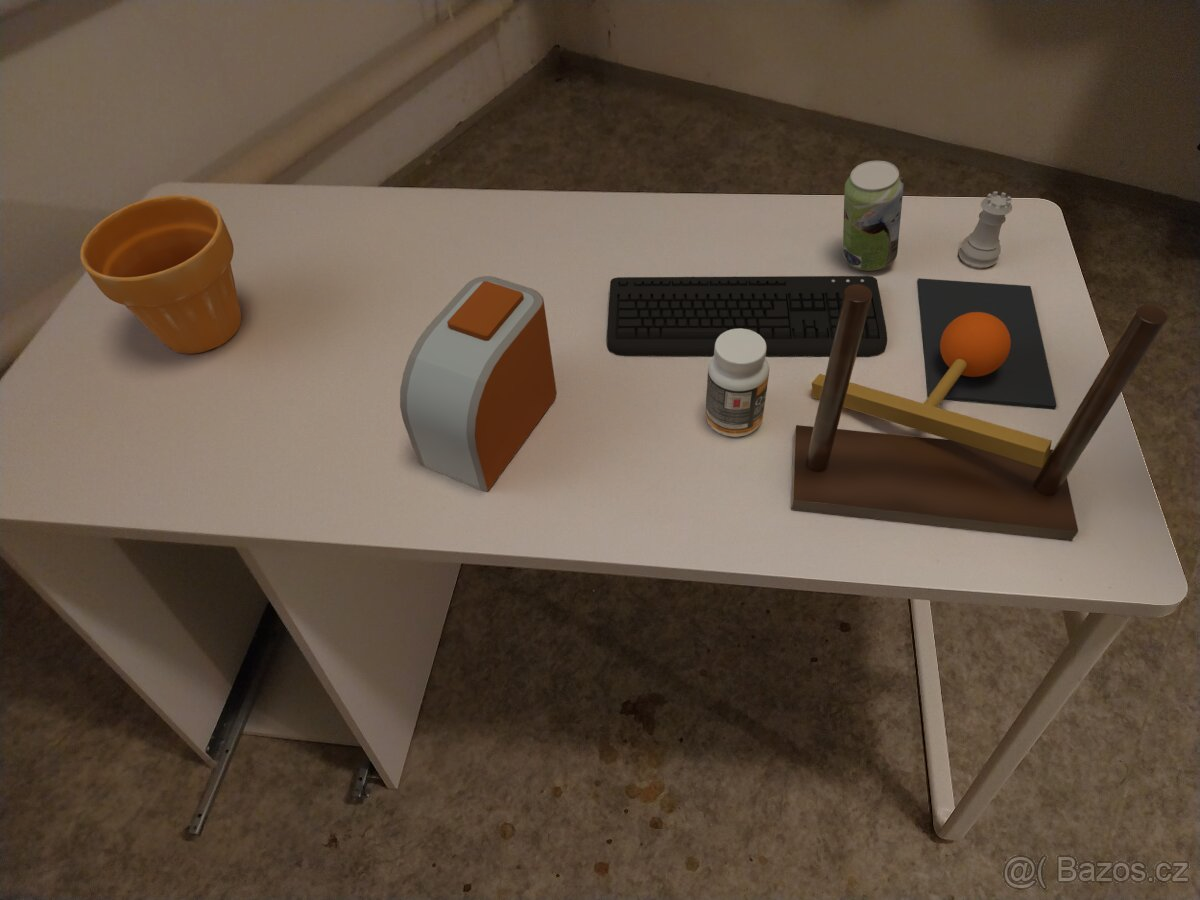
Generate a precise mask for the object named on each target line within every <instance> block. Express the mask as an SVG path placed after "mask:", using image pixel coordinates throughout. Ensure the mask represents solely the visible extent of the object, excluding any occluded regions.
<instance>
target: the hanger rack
mask: <svg viewBox="0 0 1200 900" xmlns="http://www.w3.org/2000/svg"><path fill="white" fill-rule="evenodd" d="M871 298H872V292H871V290H870V289H869V288H867V287H866V286H863V285H858V284H856V285H850V286H848V287H847V288H846V289H845V291H844V295H843V300H842V304H841V309H840V313H839V317H838V322H837V326H836V331H835V335H834V339H833V344H832V348H831V353H830V357H828V362H827V366H826V370H825V374H824V375H825V379H824V383H823V388H822V392H821V397H820V400H819V402H818V406H817V410H816V414H815V419H814V423H813V426H811V425H801V424H800V425H799V424H796V425H795V428H794V433H793V449H792V451H793V453H792V475H791V476H792V477H791V479H792V480H791V502H790V503H791V504H790V505H791V506H790V509H791V511H799V512H806V513H807V512H808V513H817V514H827V515H835V516H844V517H854V518H862V519H871V520H880V521H890V522H899V523H907V524H908V523H909V524H916V525H928V526H936V527H943V528H953V529H963V530H970V531H971V530H972V531H980V532H981V531H982V532H989V533H990V532H991V533H998V534H1008V535H1016V536H1024V537H1025V536H1027V537H1035V538H1043V539H1044V538H1045V539H1054V540H1060V541H1061V540H1063V541H1070V542H1071V541H1073V540H1074V538H1075V537H1076V536H1077V534H1078V533H1079V528H1078V523H1077V518H1076V514H1075V513H1076V512H1075V509H1074V504H1073V499H1072V494H1071V489H1070V486H1069V482H1068V481H1069V480H1068V476H1069V474H1070V473H1071V471H1072V470H1073V468H1074V467H1075V465H1076V464H1077V462H1078V461H1079V459H1080V457H1081V456H1082V454H1083V453H1084V451H1085V449H1086V448H1087V446H1088V445H1089V443H1090V442H1091V440H1092V439H1093V437H1094V435H1095V434H1096V432H1097V431H1098V429H1099V428H1100V426H1101V424H1102V423H1103V421H1104V420H1105V418H1106V417H1107V415H1108V414H1109V412H1110V410H1111V409H1112V408H1113V406H1114V404H1115V403H1116V401H1117V400H1118V398H1119V397H1120V395H1121V393H1122V392H1123V391H1124V389H1125V387H1126V385H1127V384H1128V382H1129V381H1130V380H1131V378H1132V376H1133V375H1134V373H1135V371H1136V370H1137V369H1138V367H1139V365H1140V364H1141V362H1142V360H1143V359H1144V357H1145V356H1146V354H1147V353H1148V352H1149V350H1150V348H1151V346H1153V344H1154V342H1155V340H1156V338H1157V337H1158V335H1159V334H1160V332H1161V331H1162V330H1163V328H1164V326H1165V324H1166V323H1167V322H1168V319H1169V317H1168V314H1167V312H1166V311H1165V310H1164V309H1162V308H1160V307H1159V306H1156V305H1153V304H1143V305H1140V306H1138V307H1137V308H1136V310H1135V311H1134V313H1133V315H1132V317H1131V318H1130V320H1129V322H1128V323H1127V325H1126V326H1125V328H1124V330H1123V331H1122V333H1121V335H1120V337H1119V338H1118V340H1117V342H1116V343H1115V345H1114V347H1113V348H1112V350H1111V352H1110V353H1109V355H1108V357H1107V359H1106V360H1105V362H1104V364H1103V365H1102V367H1101V368H1100V371H1099V372H1098V374H1097V375H1096V377H1095V378H1094V380H1093V382H1092V384H1091V385H1090V387H1089V389H1088V391H1086V394H1085V395H1084V398H1083V399H1082V401H1081V402H1080V404H1079V405H1078V407H1077V409H1076V411H1075V413H1074V414H1073V416H1072V417H1071V419H1070V421H1069V422H1068V424H1067V426H1066V428H1065V429H1064V431H1063V433H1062V434H1061V436H1060V438H1059V439H1058V441H1057V443H1056V445H1055V446H1054V447H1053V449H1052V448H1050V454H1049V458H1048V459H1047V461H1046V463H1045V464H1044V466H1043V467H1042V468H1040V467H1036V466H1033V465H1030V464H1027V463H1023V462H1020V461H1017V460H1014V459H1010V458H1007V457H1004V456H1001V455H997V454H994V453H991V452H988V451H985V450H981V449H978V448H975V447H972V446H968V445H965V444H962V443H959V442H955V441H952V440H949V439H946V438H938V437H937V438H936V437H926V436H916V435H905V434H904V435H903V434H895V433H884V432H883V433H882V432H872V431H864V430H863V431H862V430H852V429H840V428H839V424H840V421H841V416H842V413H843V408H844V407H843V405H844V401H845V397H846V394H847V390H848V386H849V382H850V383H851V378H852V374H853V370H854V366H855V362H856V358H857V357H856V355H857V352H858V348H859V344H860V340H861V336H862V333H863V329H864V325H865V321H866V317H867V314H868V310H869V306H870V302H871Z"/></svg>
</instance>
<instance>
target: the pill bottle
mask: <svg viewBox="0 0 1200 900" xmlns="http://www.w3.org/2000/svg"><path fill="white" fill-rule="evenodd" d="M766 348H767V347H766V342H765V340H764V339H763V338H762V337H761V336H760V335H759V334H758V333H756V332H754V331H751V330H748V329H741V328H740V329H731V330H728V331H726V332H724V333H722V334H721V335H720V336H719V337H718V338H717V340H716V343H715V349H714V355H713V356H711V357H710V359H709V361H708V365H707V366H708V367H707V380H706V397H705V419H706V422H707V423H708V425H709V427H710V428H712V429H713V430H714V431H715V432H717V433H719V434H720V435H722V436H726V437H734V438H738V437H744V436H747V435H750V434H752V433H753V432H755V431H756V430H757V429H758V428H759V427H760V426H761V424H762V422H763V418H764V412H765V405H766V397H767V391H768V384H769V378H770V377H769V376H770V364H769V361H768V359H767V358H766V357H767V356H766Z"/></svg>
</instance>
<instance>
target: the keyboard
mask: <svg viewBox="0 0 1200 900" xmlns="http://www.w3.org/2000/svg"><path fill="white" fill-rule="evenodd" d="M609 281H610V282H609V283H610V284H609V295H608V312H607V313H608V314H607V327H606V329H607V330H606V347H607V349H608V352H610V353H612V354H613V355H615V356H621V357H713V355H714V349H715V343H716V340H717V338H718V337H719V336H720V335H721V334H722V333H724V332H726V331H728V330H731V329H740V328H741V329H748V330H751V331H754V332H756V333H758V334H759V335H760V336H761V337H762V338H763V339H764V340H765V342H766V347H767V348H766V357H816V358H817V357H818V358H819V357H828V358H829V357H830V353H831V348H832V344H833V339H834V335H835V331H836V326H837V322H838V317H839V313H840V309H841V304H842V300H843V295H844V291H845V289H846V288H847V287H848V286H850V285H856V284H858V285H863V286H866V287H867V288H869V289H870V290H871V292H872V298H871V302H870V306H869V310H868V314H867V317H866V321H865V325H864V329H863V333H862V336H861V340H860V344H859V348H858V352H857V355H856V358H857V357H859V358H860V357H862V358H863V357H864V358H865V357H867V358H869V357H876V356H879V355H881V354H883V353H884V352H885V351H886V349H887V345H888V331H887V326H886V325H887V324H886V320H885V314H884V310H883V306H882V304H883V303H882V299H881V293H880V288H879V283H878V279H877V277H874V276H872V275H801V276H800V275H798V276H797V275H796V276H795V275H793V276H791V275H790V276H789V275H787V276H785V275H784V276H781V275H780V276H778V275H777V276H768V275H767V276H629V277H628V276H618V277H613V278H612V279H610V280H609Z"/></svg>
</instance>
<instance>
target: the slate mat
mask: <svg viewBox="0 0 1200 900" xmlns="http://www.w3.org/2000/svg"><path fill="white" fill-rule="evenodd" d="M916 282H917V283H916V284H917V295H918V303H919V315H920V316H919V317H920V327H921V335H922V337H921V338H922V347H923V348H922V349H923V357H924V358H923V359H924V368H925V378H926V391H927V398H928V397H929V396H930V394H931V393H932V391H933V390H934V389H935V387H936V386H937V385H938V383H939V382H940V381H941V379H942V378H943V377H944V375H945V374H946V372H947V371H948V370H949V367H948V366H947V364H946V363H945V362H944V360H943V358H942V355H941V351H940V342H941V337H942V334H943V332H944V330H945V329H946V327H947V326H948V325H949V324H950V323H951V322H952V321H953V320H954V319H956V318H957V317H959V316H961V315H963V314H967V313H971V312H983V313H988V314H991V315H993V316H995V317H997V318H998V319H999V320H1001V321H1002V322H1003V323H1004V325H1005V326H1006V328H1007V329H1008V332H1009V334H1010V339H1011V347H1010V351H1009V354H1008V357H1007V358H1006V360H1005V362H1004V363H1003V364H1002V365H1001V366H1000V367H999V368H998V369H996V370H995V371H993V372H991V373H990V374H987V375H984V376H979V377H968V376H963V375H960V377H959V378H958V379H957V381H956V382H955V383H954V385H953V386H952V388H951V389H950V390H949V392H948V393H947V395H946V396H945V397H944V399H943V400H947V401H959V402H968V403H979V404H980V403H981V404H991V405H992V404H993V405H1002V406H1003V405H1004V406H1015V407H1026V408H1037V409H1049V410H1056V409H1057V407H1058V404H1057V400H1056V396H1055V391H1054V386H1053V382H1052V377H1051V372H1050V367H1049V363H1048V359H1047V355H1046V349H1045V346H1044V341H1043V335H1042V332H1041V327H1040V323H1039V317H1038V314H1037V310H1036V309H1037V308H1036V304H1035V301H1034V296H1033V291H1032V286H1031V285H1023V284H1007V283H992V282H978V281H963V280H951V279H950V280H949V279H948V280H947V279H937V278H936V279H934V278H933V279H932V278H920V277H919V278H917V281H916Z"/></svg>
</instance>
